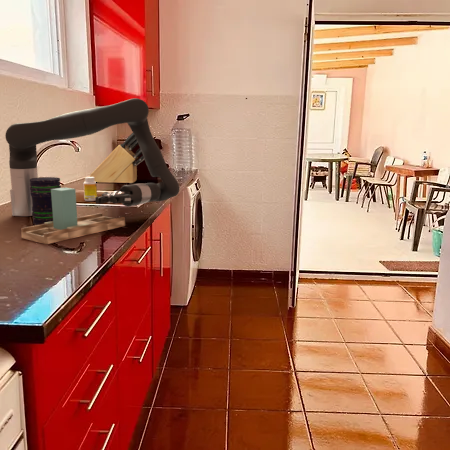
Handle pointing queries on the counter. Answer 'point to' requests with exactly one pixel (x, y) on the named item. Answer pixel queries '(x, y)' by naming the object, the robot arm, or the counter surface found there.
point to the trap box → (71, 229)
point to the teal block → (64, 207)
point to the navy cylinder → (42, 198)
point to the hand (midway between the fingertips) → (97, 200)
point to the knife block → (120, 164)
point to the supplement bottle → (90, 189)
